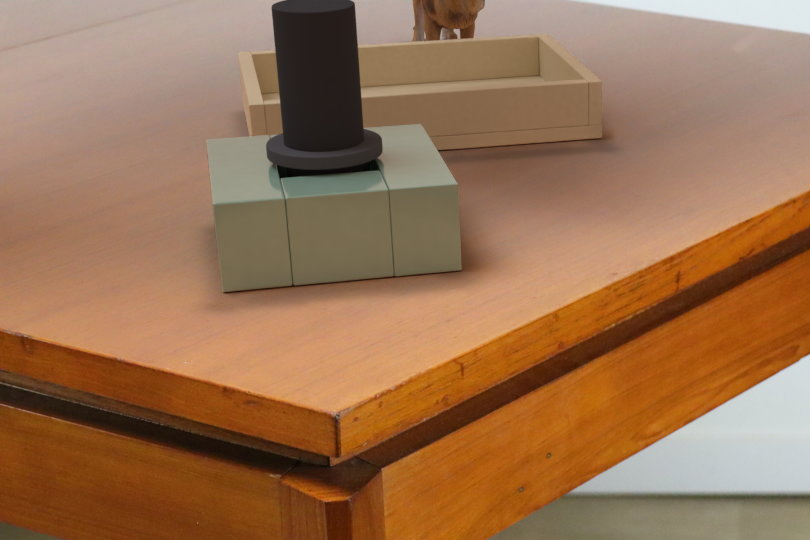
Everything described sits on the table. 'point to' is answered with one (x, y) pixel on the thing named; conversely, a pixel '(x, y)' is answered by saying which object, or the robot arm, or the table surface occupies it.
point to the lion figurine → (445, 18)
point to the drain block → (333, 215)
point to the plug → (319, 90)
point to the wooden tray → (455, 91)
